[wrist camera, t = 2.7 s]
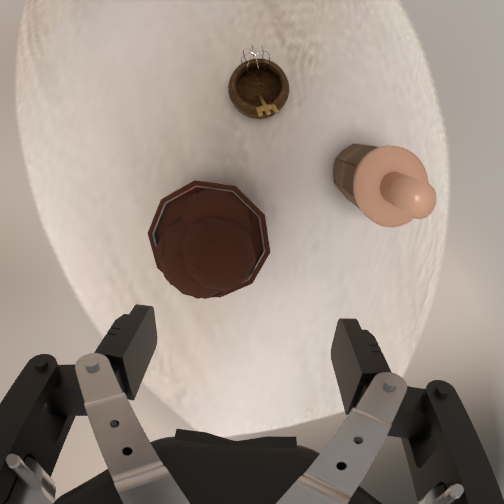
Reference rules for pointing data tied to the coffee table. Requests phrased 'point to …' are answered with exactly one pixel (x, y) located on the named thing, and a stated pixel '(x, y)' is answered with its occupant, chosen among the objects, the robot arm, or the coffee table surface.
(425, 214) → the lid
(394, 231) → the coffee table surface
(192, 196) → the ice cream bowl
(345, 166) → the canister
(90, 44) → the coffee table surface
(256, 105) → the utensil holder
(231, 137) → the coffee table surface
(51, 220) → the coffee table surface
